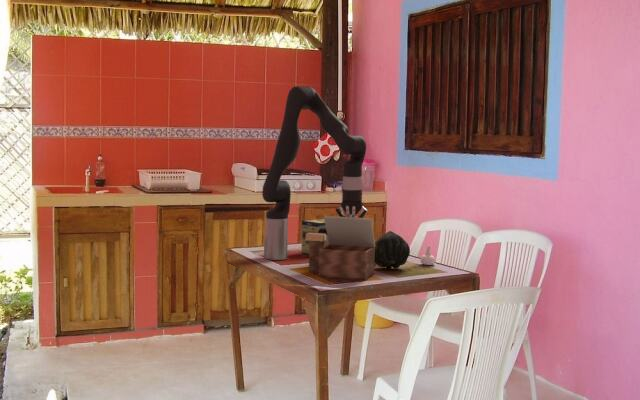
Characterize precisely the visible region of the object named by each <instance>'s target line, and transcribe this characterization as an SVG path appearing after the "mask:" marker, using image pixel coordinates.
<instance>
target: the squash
mask: <svg viewBox="0 0 640 400" xmlns="http://www.w3.org/2000/svg"><path fill="white" fill-rule="evenodd" d="M410 253H411V248H410V246H409V244H408V242H407V241H406V240H405V239H404V238H403V237H401V236H400V235H399V234H397V233H395V232H394V231H391V230H390V231H387V232H386V233H383V235H381V236H380V237H379V238H378V239H377V240H376V241H375V258H374V262H375V263H376V265H377V266H378V267H379V268H380V267H381V268H386V269H389V270H390V269H392V268H393V269H399V268H400V266H403V265H405V264H406V262H407V261H408V259H409V256H410Z"/></svg>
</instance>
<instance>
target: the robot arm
mask: <svg viewBox="0 0 640 400" xmlns="http://www.w3.org/2000/svg"><path fill="white" fill-rule="evenodd" d="M286 97H287V98H286V102H285V103H286V104H285V110H284V115H283V119H282V124H281V128H280V132H279V136H278V139H277V142H276V145H275V151H274V155H273V158H272V161H271V165H270V167H269V169H268V173H267V175H266V178H265V180H264V183H263V186H262V192H261V193H262V198H263V200H264V201H265V203H266V202H267V203H275V204H274V205H275V206H273V207H272V208H271V209H269V210H267V212H266V213H265V215H266V216H265V223H266V224H265V235H264V236H263V237H264V238H263V240H264V241H263V259H267V260H272V261H280V260H281V261H282V260H287V259H288V245H289V244H288V242H289V239H288V237H289V236H288V233H289V232H288V231H289V230H288V229H289V214H290V209H291V208H290V207H291V186H290V183H289V182H288V181H287V180H281V178H282V175H283V174H284V172H285V171H286V170H287V169H288V168H289V166H291V164H293V162H294V161H295V159H297V156H298V152H299V150H300V146H301V142H302V140H301V133H300V130H299V126H298V125H299V123H298V122H299V118H300V115H301V111H302V110H304V111H305V110H308V111H311V112H312V113H314V115H315V116H317V118H318V119H319V123H320V125H321V128H322V129H323V130H324V131H325V132H326V134H327V135H328V136H330V137H331V138H332V139H333V140H334V143H335V144H336V146H337V147H338V150H340V152H342V153H343V154H345V155H350V156H349V159H348V160H346V161H344V162H343V173H342V174H343V175H342V176H343V177H342V188H341V189H342V197H341V198H342V199H341V201H342V202H341V203H340V206H339V207H337V208H335V211H336V213H337V214H338V217H354V218H365V216H366V215H367V213H368V212H369V209H367V208H365V207H364V204H363V176H362V175H363V173H362V172H363V167H362V166H363V163H364V159H365V156H366V154H367V153H366V152H367V142H366V140H365V138H364V137H363V136H361V135H351V134H350V135H349V133H350V132H349V128H348V126H347V125H346V124H345V123H344V122H343V121H341V119H340V118H338V117H337V116H336V115H335V114H334V112H332V110H331V109H330V108H329V107H328V106H327V104H326V102H325V101H324V100H323V99H322V98H321V96H320V94H319V93H318V92H317V91H316V90H315V88H313V87H311V86H307V85H305V86H303V85H302V86H301V85H300V86H299V85H298V86H296V85H295V86H293V87H292V88H290V90H289V91H288V94H287V96H286ZM343 211H344V212H343ZM359 213H361V214H360V215H358V214H359ZM345 214H346V215H345Z"/></svg>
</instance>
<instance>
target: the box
mask: <svg viewBox="0 0 640 400" xmlns="http://www.w3.org/2000/svg"><path fill="white" fill-rule="evenodd" d="M374 258H375V247H366V246H350V245H334V244H329V245H327V246H325V241H309V255H308V273H315V274H316V273H317V274H318V277H319V278H326V279H327V278H328V279H339V280H340V279H343V280H353V281H354V280H355V281H368V280H369V279H370V278H371V277H372V276H373V275H375V265H374Z"/></svg>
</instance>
